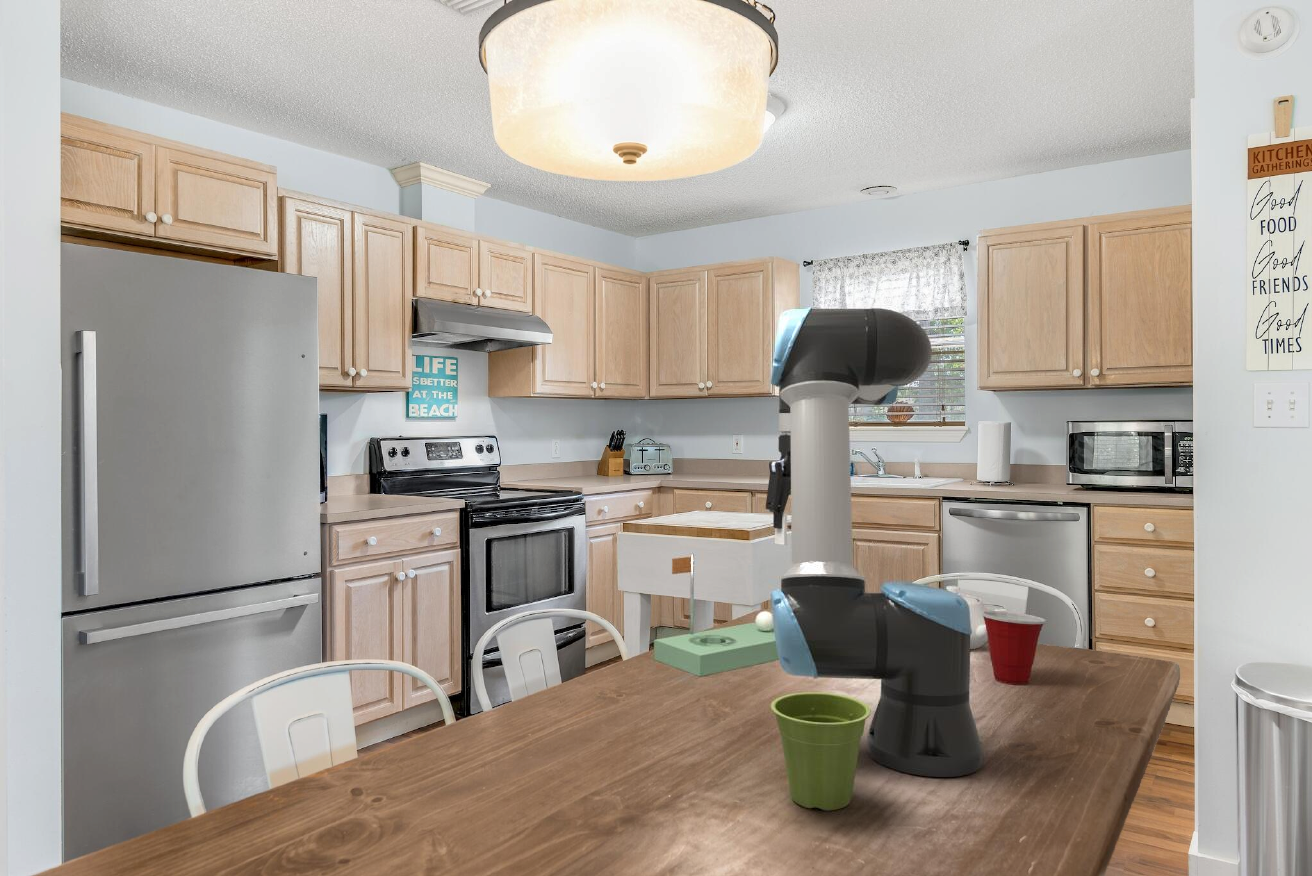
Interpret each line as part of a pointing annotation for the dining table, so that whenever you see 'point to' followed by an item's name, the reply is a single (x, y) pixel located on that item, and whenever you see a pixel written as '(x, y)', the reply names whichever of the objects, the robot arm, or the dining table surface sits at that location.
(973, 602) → the teapot
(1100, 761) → the dining table surface
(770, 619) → the ball
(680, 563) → the flag
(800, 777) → the plant pot
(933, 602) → the robot arm
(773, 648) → the putting board
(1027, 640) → the plastic cup
